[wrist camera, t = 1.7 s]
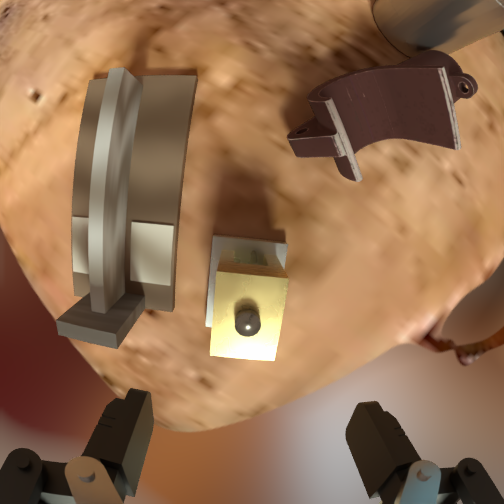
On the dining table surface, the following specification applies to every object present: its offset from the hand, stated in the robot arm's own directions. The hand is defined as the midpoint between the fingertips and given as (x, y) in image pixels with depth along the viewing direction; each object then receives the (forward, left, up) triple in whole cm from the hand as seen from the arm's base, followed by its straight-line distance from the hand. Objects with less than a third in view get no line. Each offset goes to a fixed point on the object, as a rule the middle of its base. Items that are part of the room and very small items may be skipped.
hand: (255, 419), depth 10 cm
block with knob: (0, 0, -15) cm, 15 cm away
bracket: (-16, +10, -16) cm, 25 cm away
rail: (-7, -11, -16) cm, 20 cm away
